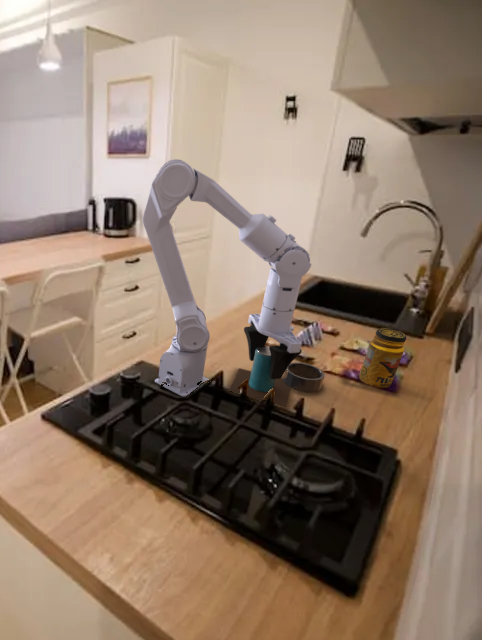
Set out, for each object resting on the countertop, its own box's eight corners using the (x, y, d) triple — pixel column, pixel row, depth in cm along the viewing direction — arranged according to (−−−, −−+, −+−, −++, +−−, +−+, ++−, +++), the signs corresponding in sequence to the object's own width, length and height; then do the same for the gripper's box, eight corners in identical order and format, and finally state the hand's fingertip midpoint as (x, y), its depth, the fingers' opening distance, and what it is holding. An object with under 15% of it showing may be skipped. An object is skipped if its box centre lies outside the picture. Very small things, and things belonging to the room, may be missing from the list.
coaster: (285, 409, 79) (286, 406, 78) (227, 393, 83) (228, 391, 83) (291, 383, 87) (291, 380, 87) (238, 370, 92) (239, 368, 92)
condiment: (393, 394, 84) (413, 342, 79) (346, 383, 87) (363, 333, 82) (390, 379, 89) (409, 329, 84) (346, 369, 93) (362, 321, 88)
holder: (311, 398, 82) (315, 383, 80) (276, 383, 87) (279, 369, 85) (326, 386, 86) (330, 371, 85) (291, 372, 91) (295, 359, 90)
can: (265, 394, 82) (274, 358, 78) (244, 385, 85) (251, 350, 82) (277, 386, 85) (285, 351, 81) (256, 377, 88) (263, 343, 85)
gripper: (323, 319, 72) (304, 385, 78) (275, 293, 85) (262, 351, 90) (287, 321, 70) (271, 388, 76) (244, 294, 83) (233, 353, 89)
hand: (264, 368), depth 83 cm, fingers open, 7 cm apart
